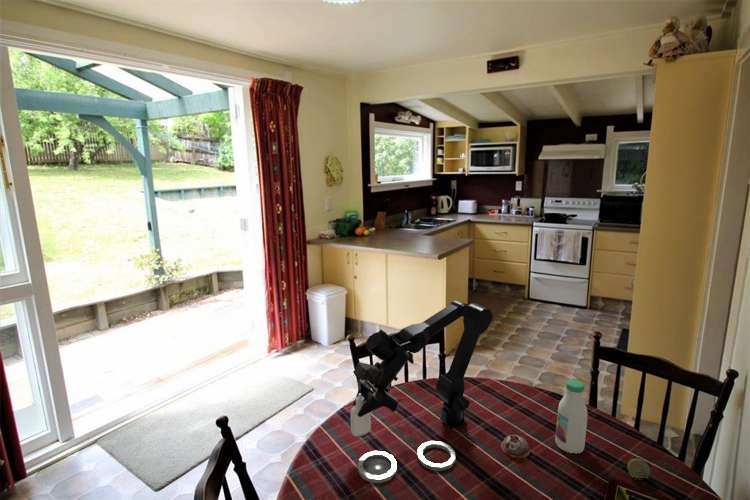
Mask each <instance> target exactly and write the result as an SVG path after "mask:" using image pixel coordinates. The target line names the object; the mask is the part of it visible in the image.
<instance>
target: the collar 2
mask: <svg viewBox="0 0 750 500" xmlns="http://www.w3.org/2000/svg"><path fill="white" fill-rule="evenodd" d="M431 448H438V449H441V450H444V451H446V452H447V453H448V455H450V458H449V459H448V460H447V461H445V462H443V463H434V462H431V461H429V460H427V459H426V458H425V456H424V455H423V453H425V451H426V450H428V449H431ZM417 460H418V462H419V463H420V464H421V465H422V466H423V467H424V468H427V469H429V470H431V471H438V472H440V471H441V472H443V471H446V470H449V469H452V467H454V465H455V463H456V460H457V459H456V452H455V449H453V448H452V447H451V445H450V444H448V443H445V442H443V441H438V440H437V441H436V440H429V441H426V442H424V443H422V444H421V445H420V446H419V447H418V448H417Z"/></svg>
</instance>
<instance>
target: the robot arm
mask: <svg viewBox="0 0 750 500" xmlns="http://www.w3.org/2000/svg"><path fill="white" fill-rule="evenodd" d="M461 317H463V318H462V321H463V331H462V335H461V337H460V339H459V342H458V344H457V345H458V346H457V348H456V350H455V354H454V356H453V359H452V361H451V364H450V367H449V369H448V371H447V372H446V373H444V374H441V373H440V374H439V376H438V379H437V382H436V384H435V391H436V393H437V395H438V396H439V398H440V399H441V400H442V401H443V403H442V404H443V405H442V408H441V415H440V416H439V418H440V420H441V421H443V422H444V424H446V425H447V426H448V428H450V429H454V428H457V427H461V426H464V425H467V424H468V421H467V420H466V419H465V412H466V411H465V410H466V409H468V408H469V405H470V401H469V400H468V399H467V398H466V397H465V396H464V394H465V380H464V378H465V375H466V372H467V370H468V367H469V364H470V363H471V362H470V361H471V360H472V356H473V354H474V351H475V348H476V345H477V343H478V340H479V338H480V336H481V335H482V334H483V333H485V332H486V331H487V330H488V328H489V327H490V325H491V323H492V321H493V317H494V316H493V314H492V311H491V310H490V309H488V308H487V307H485V306H482V305H480V304H478V303H474V302H473V303H465V302H461V301H459V300H453V301H451V302H450V304H448V305H447V306H446V307H443V309H440V310H439V311H438V312H436V313H434V314H433V315H431V316H430V317H428V318H427V319H425V320H423V321H422V322H420V323H419V322H418V323H412V324H410V325H408V326H406V327H403V328H402V329H400V330H399V331H397V332H394V333H392V334H387V332H385V330H383V329H381V328H380V330H379V331H377V332H374V333H372V334H371V335H369V336H368V337H367V339H366V341H365V350H367V351H369V352H370V353H371V354H372V355H374V356H375V357H376V358H378V360H381V362H379V361H376V362H375V363H374V364H373V365H372V364H370V363H364V362H357V365H356V366H355V369H354V370H353V371H352V373H353V374H354V376H356V377H357V378H358V379H357V380H356V382H357V385H358V390H357V393H356V397H358V395H359V393H361V395H362V396H363V397H364V405H363V406H362V408H361V409H360V411H359V413H358V416H359V417H362V416H364V415H365V414H367V413H369V412H370V413H371V412H373V411H375V410H377V409H379V408H382V407H384V408H387V409H388V410H389V411H392V412H393V413H394V412H396V410H397V409H398V407H399V401H398V400H397V399H396V398H395V397H394V396H393V395H392V394H390V393H389V391H390V389H389V386H390V385H391V384H392V382H393V381H395V382H397V381H398V379H399V378H398V377H397V376H398V374H400V372H401V370H402V369H403V368H404V366H405V365H406V364H407V362H409V363H410V364H412V365H413V364H414V361H415V360H414V354H417V353H419V352H420V351H422V350H423V348H425V347H426V346H427V345H428V343H429V341H430V340H431V338H432V337H434V336H435V335H436V334H438V333H439V332H440V331H442V330H443V329H445V328H447V327H448V326H450V325H451V324H452V323H454V322H455V321H457V320H458V319H460V318H461ZM356 397H355V398H354V401H353V404H352V407H354V406H355V405H356Z"/></svg>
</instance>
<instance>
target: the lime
mask: <svg viewBox="0 0 750 500" xmlns="http://www.w3.org/2000/svg"><path fill="white" fill-rule="evenodd" d="M627 471H628V474H629V475H630V477H632V478H633V477H636V478H647V479H646V480H648V479H649V478H650V476H651V469H650V467H649V465H648V464H647V463H646V461H644V460H643V459H641V458H637V457H636V458H631V459H629V461H628V463H627Z"/></svg>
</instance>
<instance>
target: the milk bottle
mask: <svg viewBox="0 0 750 500" xmlns="http://www.w3.org/2000/svg"><path fill="white" fill-rule="evenodd" d="M565 390H566V391H565V394H564V396H562V398H561V400H560V402H559V404H558V407H557V408H558V409H557V414H556V416H557V418H556V427H555V440H554V441H555V444H556V446H557V447H558V449H560V450H561V451H563V450H564V451H563V452H565V451H566V453H568V452H569V454H572V453H575V454H574V455H578V454H581V453H582V452H583V451H584V450H585V445H586V436H587V435H586V434H587V425H588V407H587V405H586V403H585V402H586V401H585V400H584V396H583V395H584V393H585V384H584V383H583V382H581V381H579V380H575V379H569V380H566V383H565ZM577 453H578V454H577Z"/></svg>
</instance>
